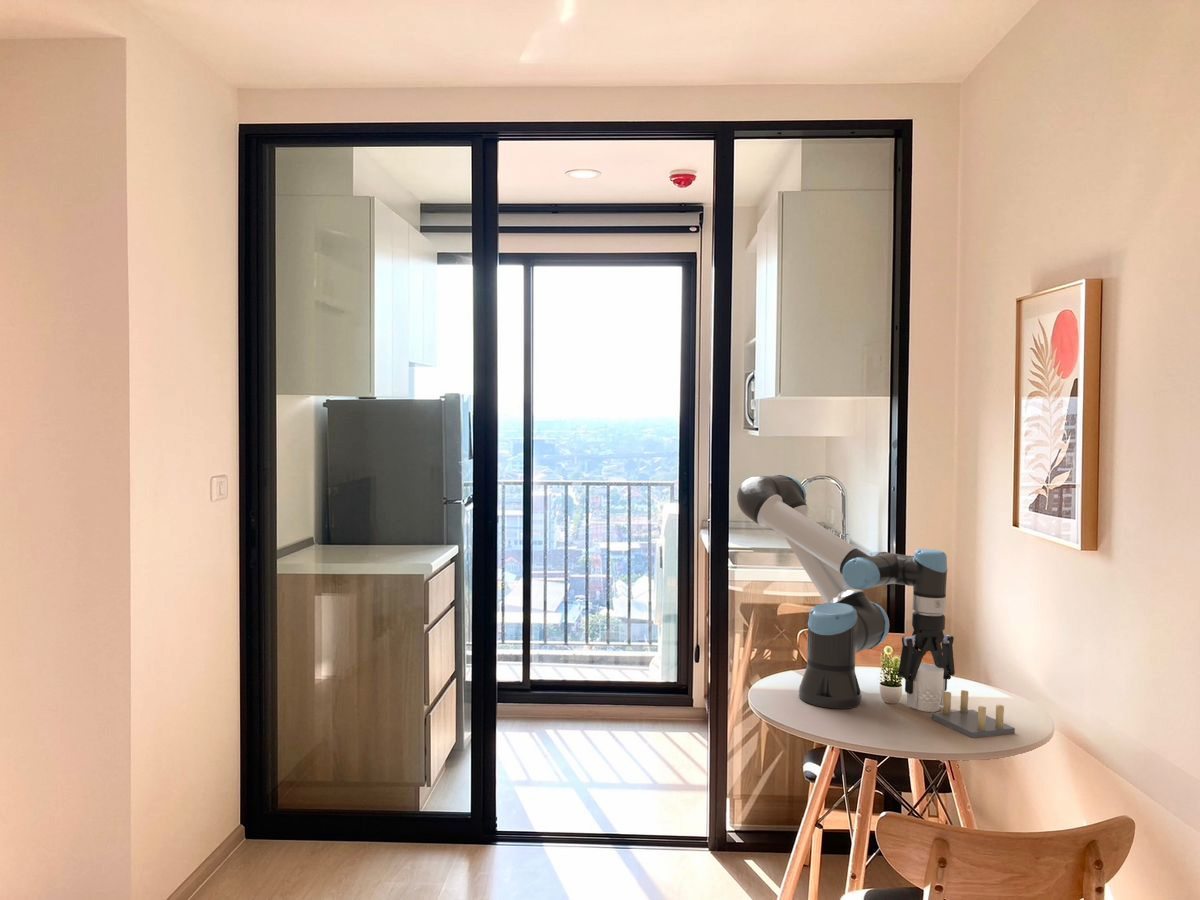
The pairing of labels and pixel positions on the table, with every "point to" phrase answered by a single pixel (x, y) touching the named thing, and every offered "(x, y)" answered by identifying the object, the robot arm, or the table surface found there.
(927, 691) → the white cup
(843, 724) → the table surface
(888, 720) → the table surface
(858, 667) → the table surface
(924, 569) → the robot arm
